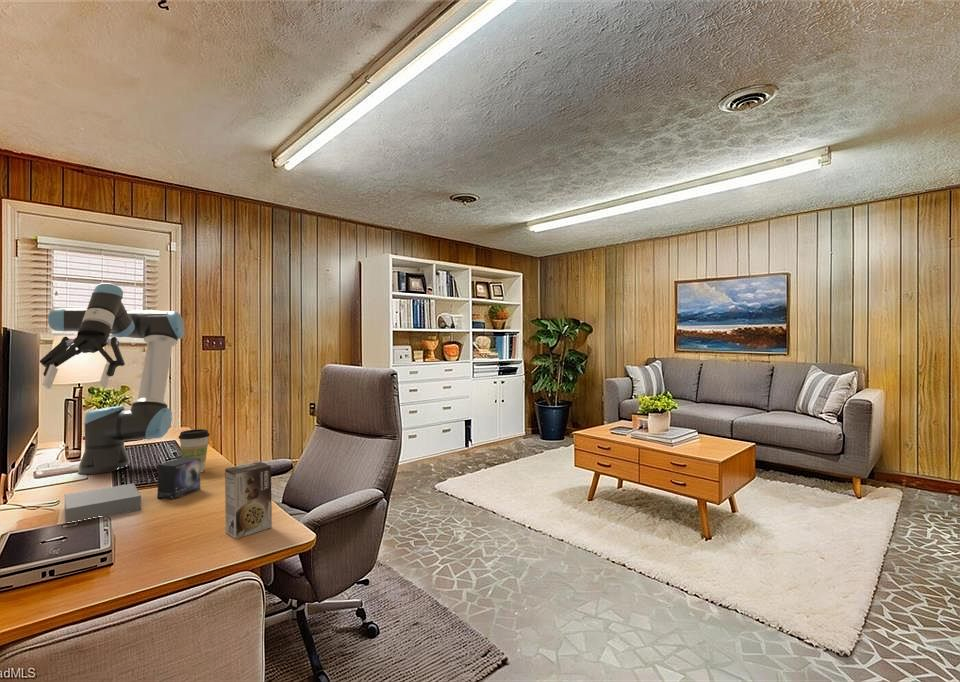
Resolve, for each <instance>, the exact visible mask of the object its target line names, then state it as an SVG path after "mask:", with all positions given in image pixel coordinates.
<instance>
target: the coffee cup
mask: <svg viewBox="0 0 960 682" xmlns="http://www.w3.org/2000/svg"><path fill="white" fill-rule="evenodd" d="M209 437H210V433H209V431H208V429H205V428H204V429H203V428H201V429H199V428H197V429H188V430H183V431H181V432H180V433H179V435H178V439H179V442H180V443H179V444H180V446H179V448H180V454H181V458H183V457H193V458H201V464H200V472H201V471H203V470H204V471H205V463H206V460H207V453H208V445H209V443H208V440H209ZM204 471H203V472H204ZM201 473H202V472H201Z"/></svg>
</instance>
